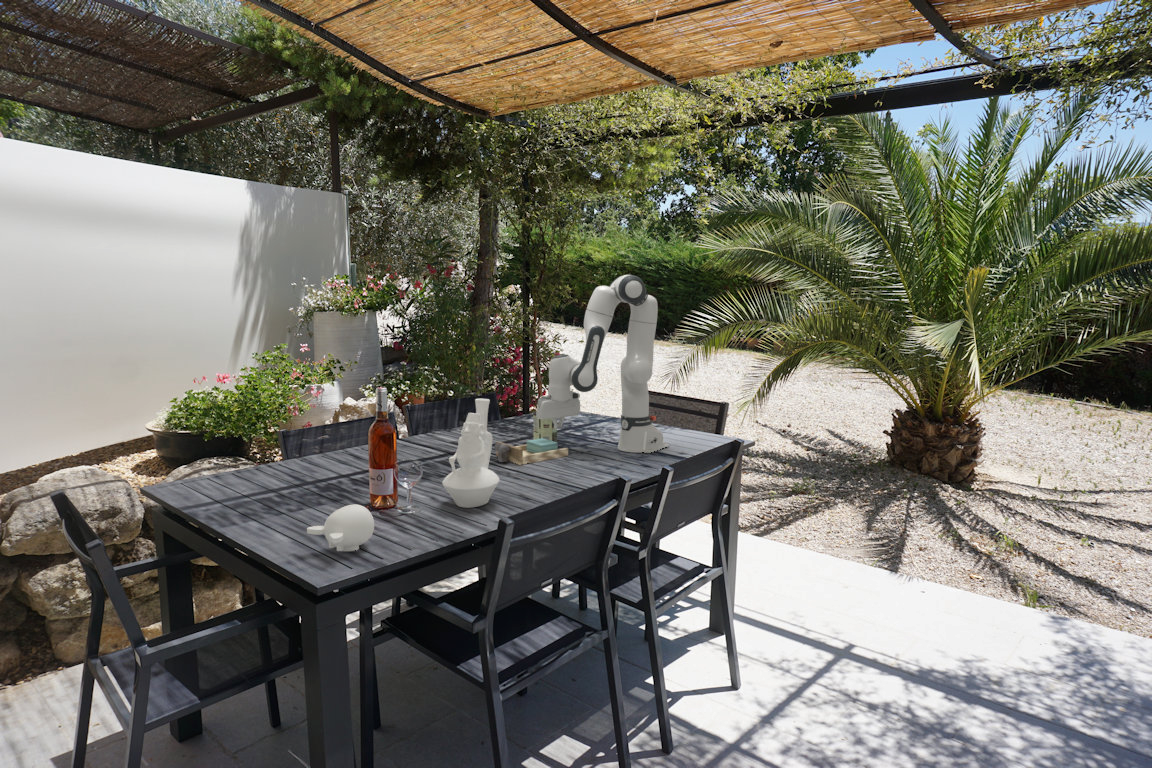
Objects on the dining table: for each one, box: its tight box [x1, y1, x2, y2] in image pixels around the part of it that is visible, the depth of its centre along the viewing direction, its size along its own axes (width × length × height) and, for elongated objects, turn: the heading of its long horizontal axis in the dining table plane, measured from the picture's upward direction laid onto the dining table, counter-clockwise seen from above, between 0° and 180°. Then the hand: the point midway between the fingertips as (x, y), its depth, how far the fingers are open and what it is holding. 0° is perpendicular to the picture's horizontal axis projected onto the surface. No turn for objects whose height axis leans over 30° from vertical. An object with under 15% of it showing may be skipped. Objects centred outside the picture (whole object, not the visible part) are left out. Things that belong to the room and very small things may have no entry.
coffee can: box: [532, 409, 558, 443], centre depth 305 cm, size 10×10×14 cm
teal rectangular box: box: [526, 438, 559, 453], centre depth 287 cm, size 8×10×4 cm
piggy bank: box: [306, 504, 375, 552], centre depth 186 cm, size 12×12×15 cm
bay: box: [494, 441, 569, 466], centre depth 282 cm, size 29×16×7 cm, turn 129°
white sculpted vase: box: [441, 397, 500, 509], centre depth 224 cm, size 18×22×32 cm
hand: (557, 428), depth 292 cm, fingers closed
